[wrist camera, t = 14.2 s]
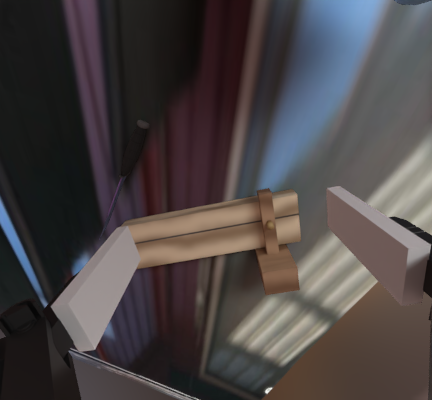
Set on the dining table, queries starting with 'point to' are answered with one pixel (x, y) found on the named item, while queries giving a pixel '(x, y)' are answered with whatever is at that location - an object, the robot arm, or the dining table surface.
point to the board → (212, 229)
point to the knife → (129, 161)
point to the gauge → (274, 252)
